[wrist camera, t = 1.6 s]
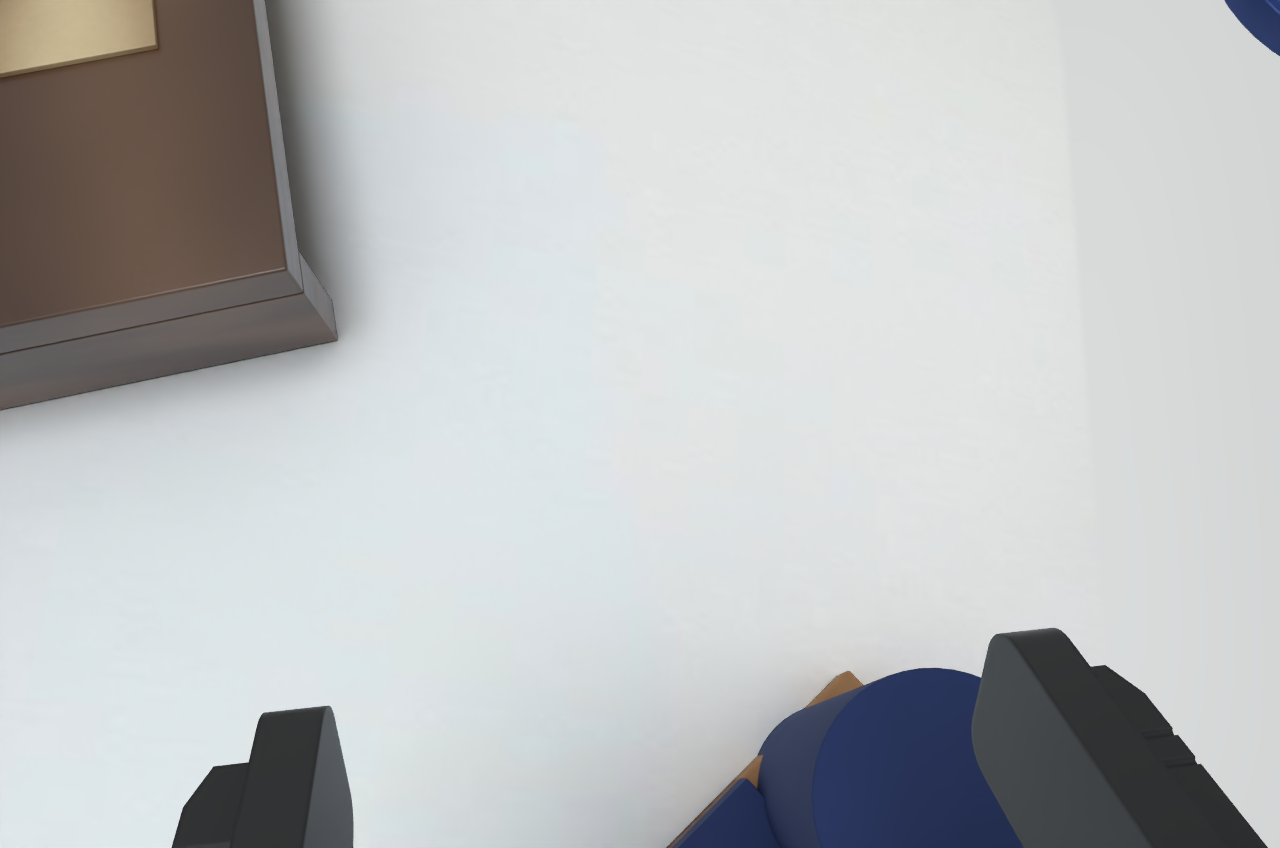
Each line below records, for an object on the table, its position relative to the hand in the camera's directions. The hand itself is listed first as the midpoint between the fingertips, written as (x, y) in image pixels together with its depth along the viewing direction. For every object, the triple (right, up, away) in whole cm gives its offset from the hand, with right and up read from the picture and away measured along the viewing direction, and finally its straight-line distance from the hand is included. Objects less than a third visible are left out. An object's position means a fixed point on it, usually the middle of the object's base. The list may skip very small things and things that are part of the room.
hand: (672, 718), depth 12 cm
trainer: (+3, -8, +16) cm, 18 cm away
